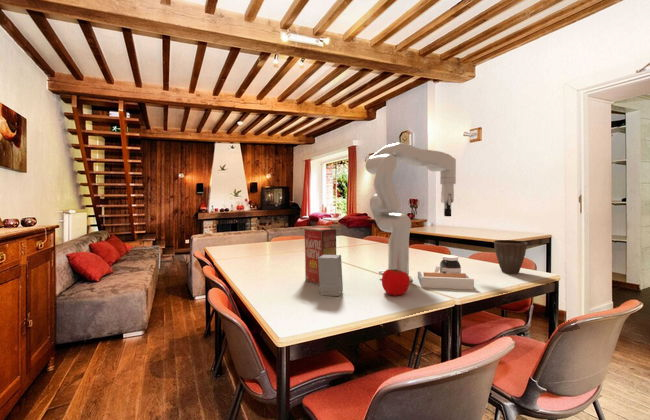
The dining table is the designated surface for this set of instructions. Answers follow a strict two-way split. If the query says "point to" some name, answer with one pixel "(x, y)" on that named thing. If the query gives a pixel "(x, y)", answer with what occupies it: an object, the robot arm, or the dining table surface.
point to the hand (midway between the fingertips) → (447, 216)
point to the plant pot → (510, 255)
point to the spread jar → (449, 264)
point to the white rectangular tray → (446, 282)
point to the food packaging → (317, 249)
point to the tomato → (395, 282)
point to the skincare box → (330, 275)
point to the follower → (444, 275)
